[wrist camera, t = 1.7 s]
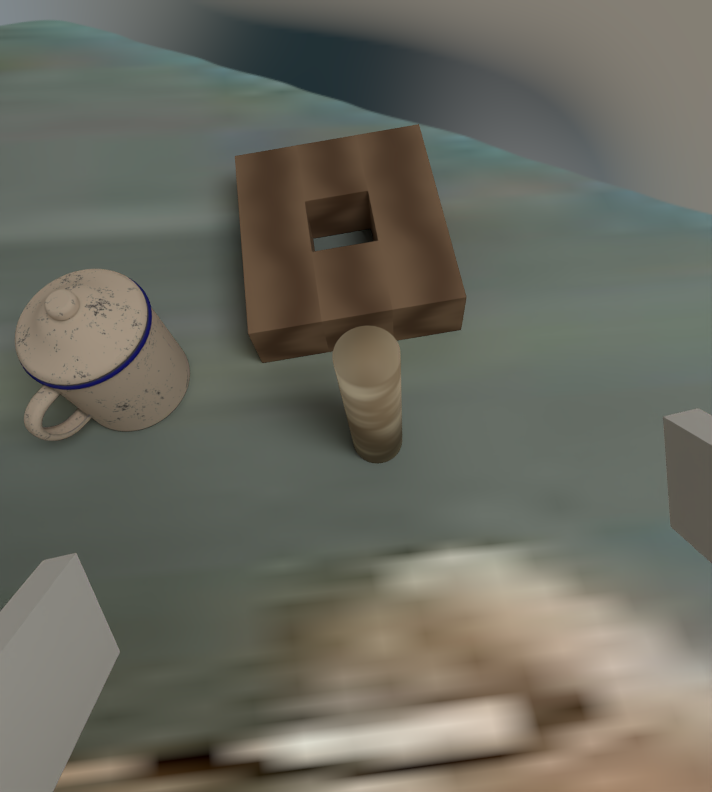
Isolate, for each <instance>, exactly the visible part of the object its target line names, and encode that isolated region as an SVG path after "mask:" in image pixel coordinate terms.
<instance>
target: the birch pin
mask: <svg viewBox="0 0 712 792" xmlns="http://www.w3.org/2000/svg"><path fill="white" fill-rule="evenodd" d="M332 357H333V364H334V368H335V372H336V376H337V380H338V384H339V388H340V392H341V396H342V400H343V404H344V408H345V412H346V416H347V420H348V424H349V428H350V432H351V436H352V440H353V444H354V448H355V450H356V452H357V453H358V455H359V456H360V457H361V458H363V459H364V460H366V461H368V462H371V463H383V462H387V461H389V460H391V459H392V458H394V457H395V456H396V455H397V454H398V452H399V450H400V448H401V445H402V405H401V356H400V348H399V345H398V342H397V341H396V339H395V338H394V337H393V335H391V334H390V333H389V332H388V331H386V330H384V329H382V328H379V327H376V326H360V327H356V328H353V329H351V330H349V331H347V332H346V333H344V334H343V335H342V336H341V337H340V338H339V340H338V341H337V342H336V344H335V347H334V349H333V356H332Z"/></svg>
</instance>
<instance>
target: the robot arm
mask: <svg viewBox="0 0 712 792" xmlns="http://www.w3.org/2000/svg"><path fill="white" fill-rule="evenodd" d="M663 423H664V437H665V452H666V466H667V481H668V496H669V510H670V525H671V527H672V528H673V529H674V530H675V531H676V532H677V533H678V534H680V535H681V536H682V537H683V538H684V539H685V540H686V541H687V542H689V543H690V544H691V545H692V546H693V547H694V548H695V549H696V550H697V551H699V552H700V553H701V554H702V555H703V556H704V557H705V558H706V559H707V560H709V561H710V562H711V563H712V415H710V414H708V413H706V412H704V411H702V410H700V409H693V410H689V411H685V412H680V413H676V414H672V415H668V416H663ZM119 653H120V650H119V648H118V646H117V644H116V641H115V639H114V637H113V635H112V632H111V630H110V628H109V626H108V623H107V621H106V619H105V617H104V614H103V612H102V610H101V608H100V605H99V603H98V601H97V599H96V596H95V594H94V592H93V589H92V587H91V585H90V583H89V580H88V578H87V576H86V574H85V571H84V569H83V567H82V565H81V562H80V560H79V558H78V556H77V553H73V554H68V555H64V556H60V557H55V558H51V559H47V560H43V561H42V562H41V563H40V564H39V566H38V567H37V568H36V569H35V570H34V572H33V573H32V574H31V575H30V576H29V578H28V579H27V580H26V581H25V582H24V584H23V585H22V586H21V587H20V588H19V590H18V591H17V592H16V593H15V594H14V596H13V597H12V598H11V599H10V600H9V602H8V603H7V604H6V605H5V606H4V608H3V609H2V610H1V611H0V792H53V791H54V789H55V787H56V784H57V782H58V780H59V778H60V776H61V774H62V772H63V770H64V768H65V766H66V764H67V761H68V759H69V757H70V755H71V753H72V751H73V749H74V747H75V745H76V743H77V741H78V738H79V736H80V734H81V732H82V730H83V728H84V726H85V724H86V722H87V720H88V718H89V715H90V713H91V711H92V709H93V707H94V705H95V703H96V701H97V699H98V697H99V695H100V692H101V690H102V688H103V686H104V684H105V682H106V680H107V678H108V676H109V674H110V672H111V669H112V667H113V665H114V663H115V661H116V659H117V657H118V655H119Z"/></svg>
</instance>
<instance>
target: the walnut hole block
mask: <svg viewBox="0 0 712 792" xmlns="http://www.w3.org/2000/svg"><path fill="white" fill-rule="evenodd" d="M235 164H236V178H237V191H238V204H239V218H240V231H241V244H242V258H243V271H244V284H245V298H246V311H247V324H248V335H249V337H250V339H251V341H252V343H253V345H254V347H255V349H256V351H257V353H258V355H259V357H260V359H261V361H262V363H266V362H272V361H278V360H284V359H290V358H296V357H301V356H307V355H313V354H319V353H325V352H331V351H333V349H334V347H335V344H336V342H337V341H338V340H339V338H340V337H341V336H342V335H343V334H344V333H346V332H347V331H349V330H351V329H353V328H356V327H360V326H376V327H379V328H382V329H384V330H386V331H388V332H389V333H390V334H391V335H393V337H394V338H395V339H396V341H397V340H403V339H409V338H415V337H421V336H426V335H432V334H438V333H444V332H450V331H456V330H461V327H462V321H463V315H464V309H465V303H466V294H465V290H464V287H463V283H462V279H461V276H460V272H459V268H458V265H457V261H456V257H455V254H454V250H453V247H452V243H451V239H450V236H449V232H448V228H447V225H446V221H445V217H444V214H443V210H442V207H441V203H440V199H439V196H438V192H437V188H436V185H435V181H434V178H433V174H432V170H431V167H430V163H429V159H428V156H427V152H426V148H425V145H424V141H423V138H422V134H421V130H420V127H419V124H418V125H412V126H407V127H401V128H395V129H389V130H383V131H378V132H372V133H366V134H360V135H354V136H349V137H343V138H337V139H331V140H326V141H320V142H314V143H308V144H302V145H297V146H291V147H285V148H279V149H273V150H268V151H262V152H256V153H250V154H245V155H239V156H235ZM365 229H371V230H372V235H373V240H374V241H373V242H368V243H362V244H356V245H350V246H344V247H338V248H332V249H326V250H321V251H315V249H314V242H313V238H319V237H324V236H330V235H336V234H342V233H348V232H354V231H360V230H365Z"/></svg>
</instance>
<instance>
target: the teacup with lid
mask: <svg viewBox="0 0 712 792" xmlns="http://www.w3.org/2000/svg"><path fill="white" fill-rule="evenodd" d="M15 347H16V352H17V355H18V358H19V360H20V362H21V365H22V366H23V368H24V370H25V371H26V372H27V373H28V374H29V375H30V376H31V377H32V378H33V379H35V380H36V381H37V382H39V383H41V384H43V386H42V387H41V389H40V390H39V391H38V392H37V393H36V394H35V395H34V396H33V398H32V399H31V400H30V402H29V404H28V405H27V408H26V410H25V414H24V424H25V427H26V428H27V430H28V431H29V432H30V433H32V434H33V435H34V436H36V437H38V438H40V439H42V440H47V441H57V440H62V439H65V438H68V437H70V436H72V435H73V434H75V433H76V432H78V431H79V430H80V429H81V428H82V427H83V426H84V425H85V424H86V423H87V422H88V421H89V420H90V419H91V418H93V419H94V420H95V421H96V422H98V423H99V424H101V425H103V426H105V427H107V428H109V429H113V430H117V431H136V430H141V429H144V428H147V427H150V426H152V425H154V424H156V423H158V422H160V421H161V420H163V419H164V418H166V417H167V416H168V415H169V414H170V413H171V412H172V411H173V410H174V409H175V408H176V407H177V406H178V405H179V403H180V402H181V400H182V398H183V397H184V395H185V393H186V390H187V387H188V383H189V377H190V369H189V363H188V360H187V357H186V355H185V353H184V351H183V350H182V348H181V347H180V346H179V344H178V343H177V342H176V340H175V339H174V338H173V336H172V335H171V333H170V332H169V331H168V329H167V328H166V327H165V325H164V324H163V323H162V321H161V320H160V318H159V317H158V316H157V314H156V313H155V312H154V310H153V309H152V307H151V305H150V302H149V299H148V297H147V295H146V293H145V292H144V290H143V289H142V288H141V287H140V286H139V285H138V284H137V283H136V282H135V281H133V280H132V279H130V278H128V277H126V276H125V275H122V274H120V273H117V272H114V271H110V270H105V269H86V270H80V271H76V272H72V273H69V274H66V275H64V276H62V277H59V278H58V279H56V280H54V281H52V282H51V283H49V284H48V285H46V286H45V287H44V288H42V289H41V290H40V291H39V292H38V293H37V294H36V295H35V296H34V297H33V298H32V299H31V300H30V301H29V303H28V304H27V305H26V307H25V309H24V310H23V312H22V314H21V316H20V318H19V321H18V324H17V327H16V332H15ZM60 394H61V395H62V396H63V397H65V398H66V399H67V400H69V401H70V402H71V403H73V404H74V405H75V406H77V407H78V409H77V410H76V411H75V412H74V413H73V414H72V415H71V416H70V417H69V418H68V419H67V420H66V421H64V422H63V423H61V424H59V425H56V426H52V427H42V420H43V416H44V414H45V412H46V410H47V409H48V408H49V406H50V405H51V404H52V403H53V402H54V400H55V399H56V398H57V397H58V396H59V395H60Z"/></svg>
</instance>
